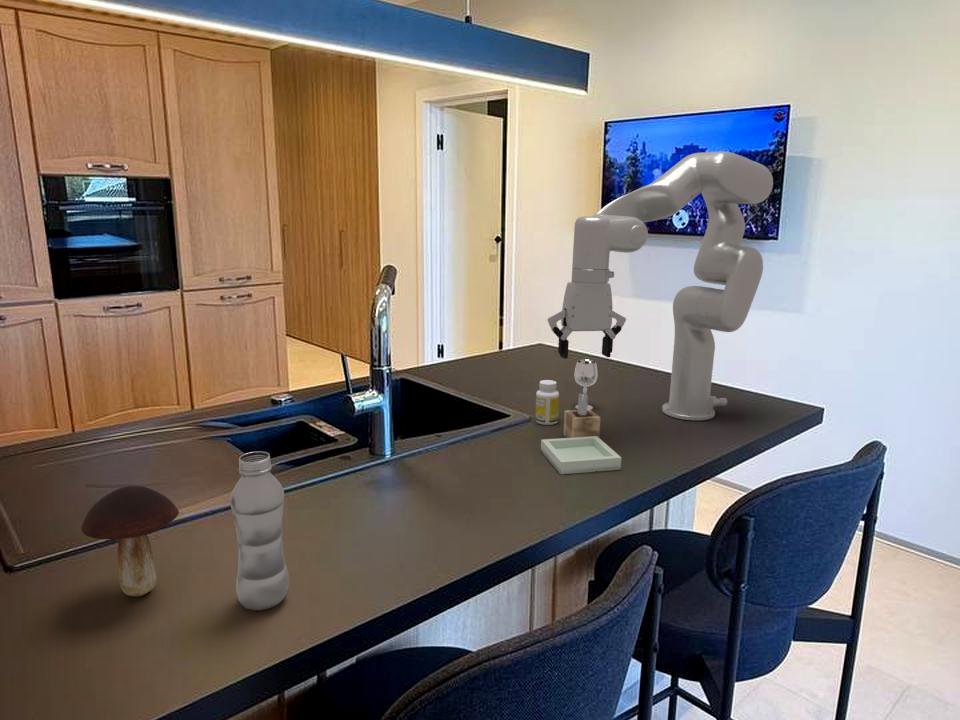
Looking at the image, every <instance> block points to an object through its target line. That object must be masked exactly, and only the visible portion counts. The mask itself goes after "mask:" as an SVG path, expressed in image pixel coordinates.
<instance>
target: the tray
mask: <svg viewBox="0 0 960 720" xmlns="http://www.w3.org/2000/svg"><path fill="white" fill-rule="evenodd" d="M540 452H541V453H542V455H543V456H544V457H545V458H546V459H547V460H548V461H549V462H550V464H551V465H552V466H553V467H554V468H555V470H556V471H557V472H558V473H559V475H570V474H583V473H585V474H586V473H595V472H596V471H597V472H606V471H607V472H609V471H619V470H622V457H621V456H620V455H619V454H618V453H617V452H616V451H615V450H614V449H612V448H611V447H610V446H609V445H608V444H607V443H605V442H604V441H603V439H601V438H600V436H599V437H597V436H590V437H575V438H567V437H563V438H546V439H541V440H540ZM597 472H596V473H597Z"/></svg>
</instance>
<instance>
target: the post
mask: <svg viewBox="0 0 960 720" xmlns="http://www.w3.org/2000/svg"><path fill="white" fill-rule="evenodd" d="M577 400H578V404H577V405H578V409H577V410H578V417H587V405H589V403H588V401H589V394H587V393H586V394H584V393H583V392H582V393H578V399H577Z"/></svg>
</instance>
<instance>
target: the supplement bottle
mask: <svg viewBox="0 0 960 720" xmlns="http://www.w3.org/2000/svg"><path fill="white" fill-rule="evenodd" d="M538 388H539V390H537V391H536V393H535V422H536V423H537V424H539V425H544V426H552V425H556V424H557V423H558V422H559V411H560V409H559V408H560V407H559V406H560V393H559V391H558V390H556V389H557V381H555V380H550V379H544V380H540V381H539V386H538Z"/></svg>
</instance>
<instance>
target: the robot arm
mask: <svg viewBox="0 0 960 720" xmlns="http://www.w3.org/2000/svg"><path fill="white" fill-rule="evenodd" d="M773 187H774V178H773V174H772V172H771V171H770V169H768V167H767V166H765V165H764V164H761V163H759V162H757V161H754V160H752V159H749V158H747V157H745V156H742V155H739V154H737V153H733V152H731V151H724V150H723V151H708V152H707V151H706V152H705V151H704V152H702V151H701V152H694V153H691V154H688V155H686V156H684V157H683V158H681V160H680V161H678V162H677V163H676V164H674V165H673V166H672V167H671V168H669V169H668V170H666V172H664V173H663V174H662V175H660V176H659V177H658V178H656V179H655V180H654V181H653V182H651V183H649V184H646V185H644V186H642V187H639V188H638V189H635V190H633V191H631V192H628V193H627V194H624V195H622V196H619V197H617V198H616V199H613V200H612V201H611V202H609V203H608V204H606V205H605V206H603V207H602V208H601V209H599V210H598V211H597V212H596V213H594V215H593V216H587V215H586V216H580V217H579V216H578V218H576V220H575V222H574V229H573V232H574V234H573V245H572V247H573V248H572V264H571V265H572V266H571V282H570V281H569V282H567V283H566V287H565V290H564V296H563V302H562V306H561V307H562V309H561V310H560V311H559V312H557V313H555V314H553V315H551V316H549V317H548V318H547V322H548V325H549V327H550V330H551V331H552V332H553V334H554V335H555V336H557V338H558V344H557V345H558V347H557V348H558V350H557V353H558V354H559V356H560V357H561V358H562V359H568V358H569V340H568V337H569V336H570V335H571V334H572V333H573V332H601V331H602V333H603V334H604V336H603V337H602V340H601V341H602V343H601V344H602V345H601V355H602V356H604V357H606V358H611V353H613V348H614V347H613V345H614V340H615V339H616V336H617V335H618V334H619V333H620V332H621V331H622V329H623V326H624V325H625V323H626V322H627V318H626V317H624V316H623V315H621V314H619V313H618V312H615V311H614V310H613V294H612V286H611V283H609V281H610V279H613V278H615V272H614V271H612V270H610V268H609V267H610V256H611V255H610V254H611V253H610V252H615V253H625V254H626V253H627V254H628V253H634V252H637V251H639V250H640V249H641V248H643V246H644V245H645V244H646V242H647V240H648V235H649V232H648V228H647V225H646V224H645V223H648V222H649V223H650V222H655V221H658V220H662V219H663V220H664V219H666V218H669V217H672V216H673V215H676V214H677V213H678V212H679V211H680V210H682V209H683V208H684V207H685V206H687V205H688V204H689V203H691V202H692V201H693V200H694V199H696V197H698V196H699V195H700V194H701V195H702V197H703V200H704V203H705V205H706V209H707V214H708V224H707V227H706V230H705V233H704V236H703V239H702V241H701V243H700V244H701V245H700V247H699V249H698V252H697V256H696V258H695V262H694V266H693V275H694V276H695V277H696V278H697V279H698V280H700V281H701V282H704V283H706V284H707V283H708V284H714V285H721V286H725V287H724V289H721V288H715V287H709V286H708V287H707V286H701V285H689V286H685V287H682V288H681V289H680V290H679V291H678V292H677V293H676V294H675V296H674V298H673V303H672V314H673V321H674V340H673V341H674V343H673V352H672V364H671V374H670V375H671V377H670V387H669V399H668V402H665V403H663V405H662V406H661V408H662V409H661V411H662V412H663V413H664V414H665V415H667V416H669V417H672V418H675V419H679V420H686V421H707V420H711V419H713V418H714V417H715V415H716V410H715V409H714V408H716V407H717V406H718V407H719V406H720V407H721V406H723V407H724V406H727V404H728V399H727V398H726V397H718V398H717V397H716V396H712V395H711V388H712V380H713V370H714V360H715V359H714V358H715V350H716V343H715V338H714V335H713V331H718V332H723V333H733V332H736V331H738V330H739V329H740V328H741V327H742V326H743V325H744V323H745V322H746V319H747V317H748V314H749V312H750V309H751V307H752V304H753V301H754V298H755V296H756V293H757V291H758V288H759V285H760V282H761V278H762V275H763V270H764V261H763V257H762V255H761V253H760V251H759V250H757V248H754V247H753V246H749V245H741V243H742V241H743V237H744V234H745V230H746V222H745V218H744V216H743V214H742V211H741V209H740V207H739V204H741V205H743V204H744V205H753V204H756V205H757V204H759V203H762V202H764V201H765V200H767V199H768V197H769V196H770V195H771V192H772V191H773ZM613 319H615V320H616V321H615V324H614V325H613V326H612V323H613ZM559 321H560V324H561V326H562V327H561V328H559V327H558V325H557V324H558V322H559ZM712 330H713V331H712Z"/></svg>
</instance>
